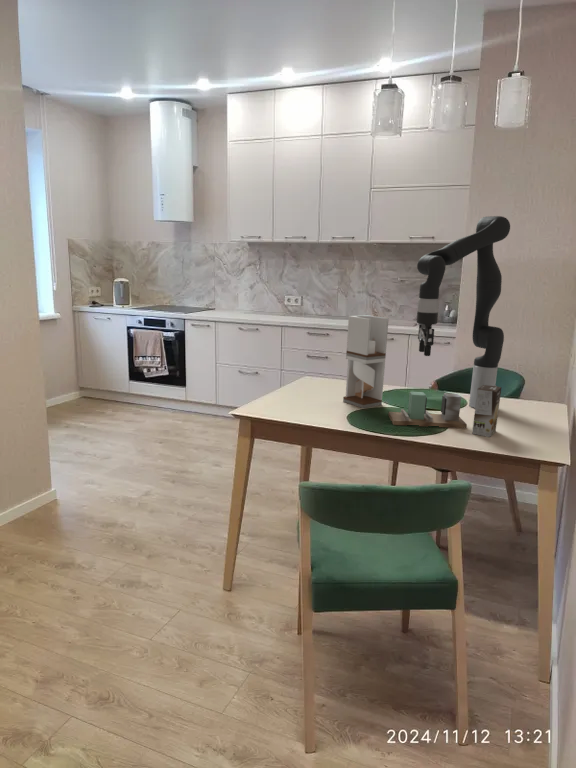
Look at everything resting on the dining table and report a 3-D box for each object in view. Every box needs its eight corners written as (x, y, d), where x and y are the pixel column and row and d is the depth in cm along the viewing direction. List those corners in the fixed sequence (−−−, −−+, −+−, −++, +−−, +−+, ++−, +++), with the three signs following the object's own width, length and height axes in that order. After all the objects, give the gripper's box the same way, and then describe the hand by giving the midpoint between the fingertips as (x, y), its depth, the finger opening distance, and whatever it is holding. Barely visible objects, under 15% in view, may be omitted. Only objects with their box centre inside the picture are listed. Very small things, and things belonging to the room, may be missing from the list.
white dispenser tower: (343, 401, 229) (348, 316, 221) (361, 398, 235) (368, 315, 227) (362, 408, 220) (369, 319, 212) (381, 404, 226) (388, 318, 218)
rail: (457, 418, 210) (460, 391, 208) (466, 428, 199) (469, 399, 196) (388, 415, 211) (390, 388, 208) (393, 424, 199) (395, 396, 197)
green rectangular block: (422, 415, 207) (424, 392, 205) (425, 419, 202) (427, 395, 200) (407, 415, 207) (409, 391, 205) (410, 418, 202) (412, 394, 200)
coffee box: (490, 437, 189) (496, 391, 186) (471, 433, 192) (477, 388, 189) (496, 431, 197) (502, 386, 193) (477, 427, 200) (483, 384, 196)
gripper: (442, 313, 199) (439, 357, 203) (433, 308, 213) (429, 350, 217) (422, 312, 199) (418, 357, 203) (413, 308, 213) (410, 350, 217)
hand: (424, 353), depth 210 cm, fingers open, 8 cm apart
